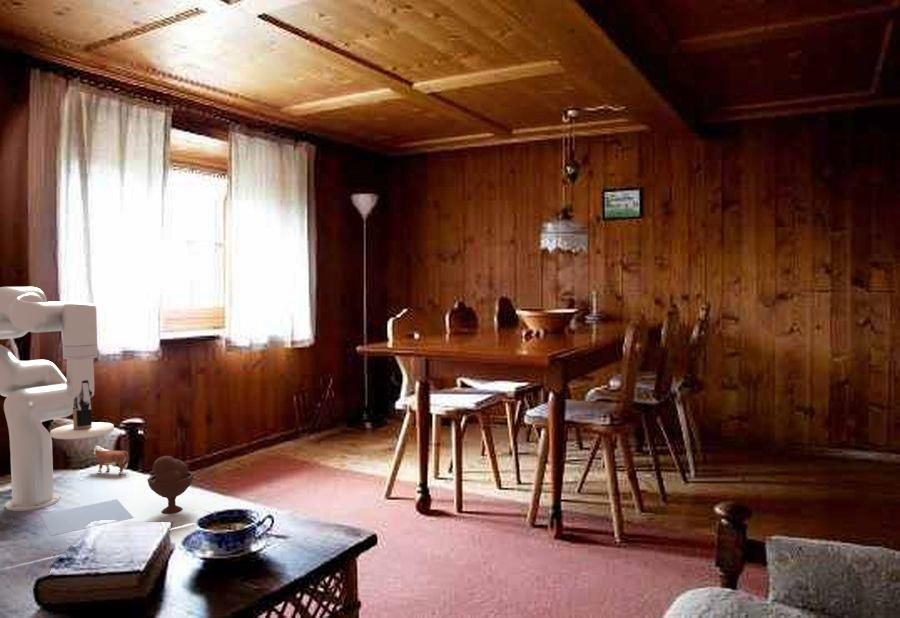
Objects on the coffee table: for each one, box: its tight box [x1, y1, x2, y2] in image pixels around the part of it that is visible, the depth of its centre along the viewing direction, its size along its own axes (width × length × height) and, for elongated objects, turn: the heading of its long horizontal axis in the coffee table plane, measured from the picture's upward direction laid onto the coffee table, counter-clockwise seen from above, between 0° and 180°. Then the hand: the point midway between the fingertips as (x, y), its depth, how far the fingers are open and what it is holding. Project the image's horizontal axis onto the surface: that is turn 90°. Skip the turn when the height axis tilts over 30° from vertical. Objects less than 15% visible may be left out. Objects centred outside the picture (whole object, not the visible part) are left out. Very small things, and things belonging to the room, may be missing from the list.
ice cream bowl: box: [147, 455, 195, 515], centre depth 169 cm, size 11×11×15 cm
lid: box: [49, 408, 115, 440], centre depth 165 cm, size 14×14×6 cm
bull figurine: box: [90, 445, 129, 475], centre depth 205 cm, size 4×13×8 cm, turn 73°
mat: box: [39, 498, 134, 537], centre depth 166 cm, size 18×18×1 cm
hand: (82, 423), depth 165 cm, fingers closed on lid, 4 cm apart
